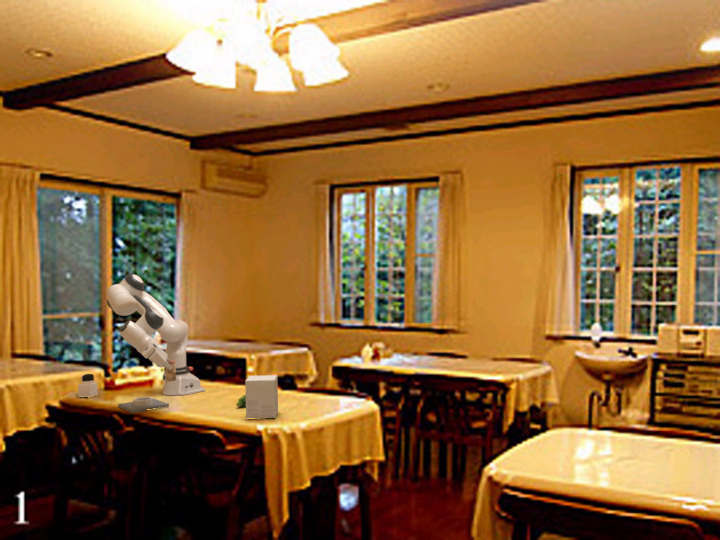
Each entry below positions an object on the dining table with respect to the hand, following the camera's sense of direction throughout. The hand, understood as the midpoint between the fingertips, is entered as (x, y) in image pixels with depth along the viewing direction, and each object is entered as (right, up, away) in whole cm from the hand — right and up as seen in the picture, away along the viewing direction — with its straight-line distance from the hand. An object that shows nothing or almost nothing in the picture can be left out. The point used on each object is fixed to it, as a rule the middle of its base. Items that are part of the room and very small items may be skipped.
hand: (172, 367), depth 301 cm
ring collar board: (-17, -21, +9) cm, 28 cm away
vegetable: (+35, -20, +11) cm, 42 cm away
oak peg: (-1, -6, 0) cm, 6 cm away
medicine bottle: (-56, -21, +36) cm, 70 cm away
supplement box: (+45, -20, -14) cm, 51 cm away
